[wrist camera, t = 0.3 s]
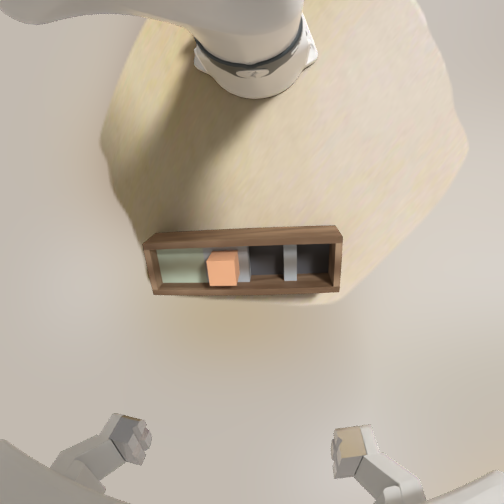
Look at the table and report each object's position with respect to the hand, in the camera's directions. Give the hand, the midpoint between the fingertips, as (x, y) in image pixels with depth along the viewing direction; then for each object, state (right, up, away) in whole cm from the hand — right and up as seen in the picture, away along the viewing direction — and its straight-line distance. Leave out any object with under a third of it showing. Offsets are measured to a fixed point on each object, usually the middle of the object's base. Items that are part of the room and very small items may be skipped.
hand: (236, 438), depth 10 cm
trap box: (-1, +7, +37) cm, 38 cm away
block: (-3, +6, +35) cm, 35 cm away
